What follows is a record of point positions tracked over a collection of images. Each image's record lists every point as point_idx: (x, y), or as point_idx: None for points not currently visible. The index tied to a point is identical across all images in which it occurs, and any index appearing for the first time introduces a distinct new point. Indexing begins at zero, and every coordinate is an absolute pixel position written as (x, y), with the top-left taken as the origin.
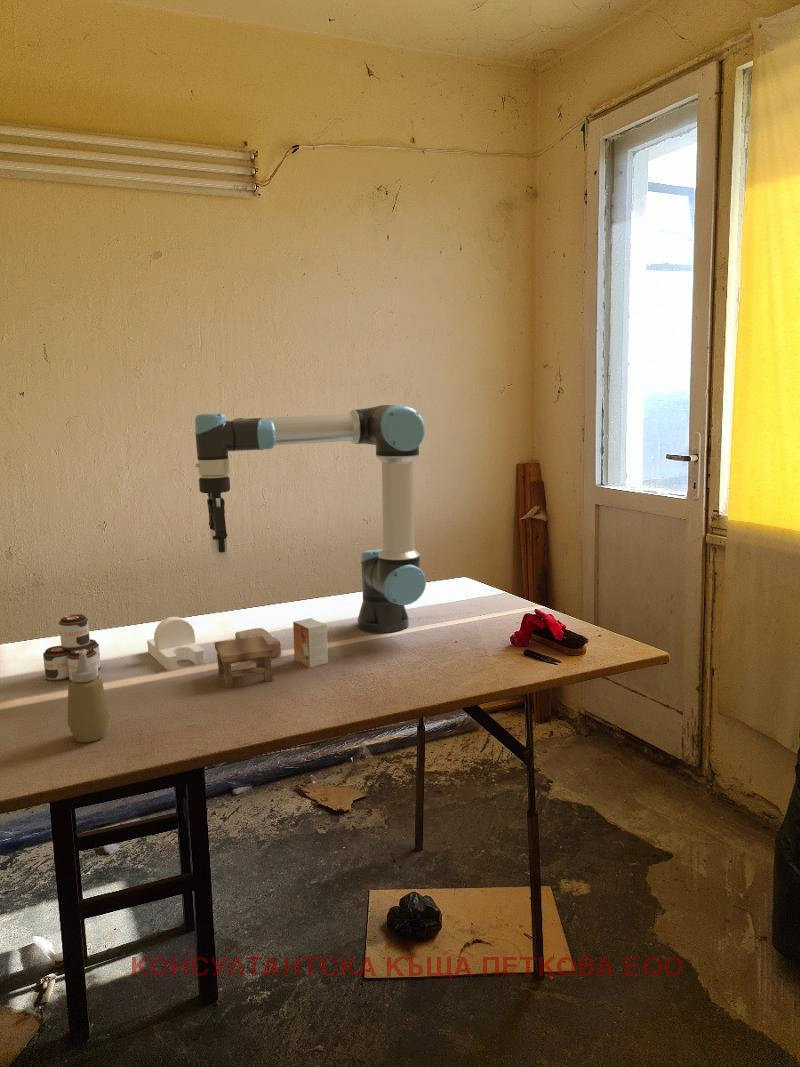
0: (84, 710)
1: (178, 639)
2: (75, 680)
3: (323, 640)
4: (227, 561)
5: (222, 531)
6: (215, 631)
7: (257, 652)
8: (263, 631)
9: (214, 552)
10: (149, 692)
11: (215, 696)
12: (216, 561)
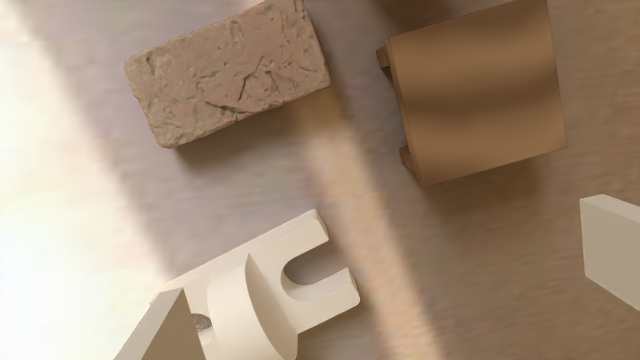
0: None
1: (270, 300)
2: None
3: None
4: (619, 204)
5: None
6: (30, 219)
7: (550, 42)
8: (160, 55)
9: (194, 355)
10: (493, 296)
11: (557, 150)
12: (606, 287)
